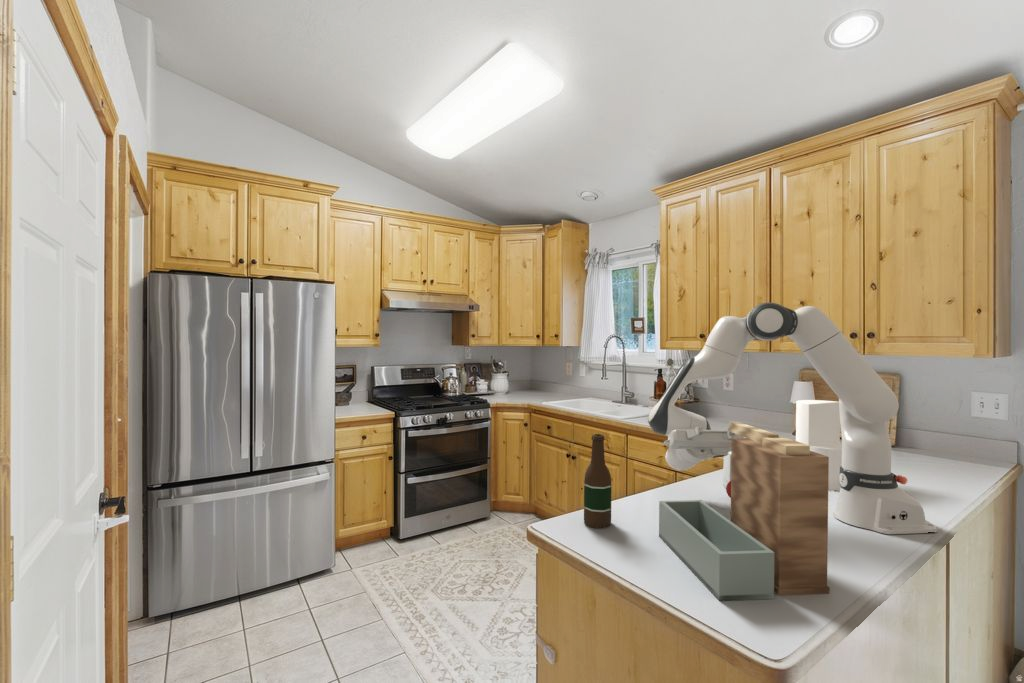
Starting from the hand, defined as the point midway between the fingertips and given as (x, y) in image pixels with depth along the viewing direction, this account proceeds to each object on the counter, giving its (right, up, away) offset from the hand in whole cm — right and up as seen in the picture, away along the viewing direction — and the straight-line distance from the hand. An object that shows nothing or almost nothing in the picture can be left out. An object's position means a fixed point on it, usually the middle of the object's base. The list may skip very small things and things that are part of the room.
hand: (717, 430), depth 129 cm
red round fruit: (+14, -26, +20) cm, 35 cm away
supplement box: (+20, -26, +32) cm, 46 cm away
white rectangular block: (+54, -26, +40) cm, 72 cm away
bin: (-11, -26, -21) cm, 35 cm away
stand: (+2, -26, -25) cm, 36 cm away
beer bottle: (-32, -26, +2) cm, 41 cm away
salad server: (+2, +1, -20) cm, 20 cm away
